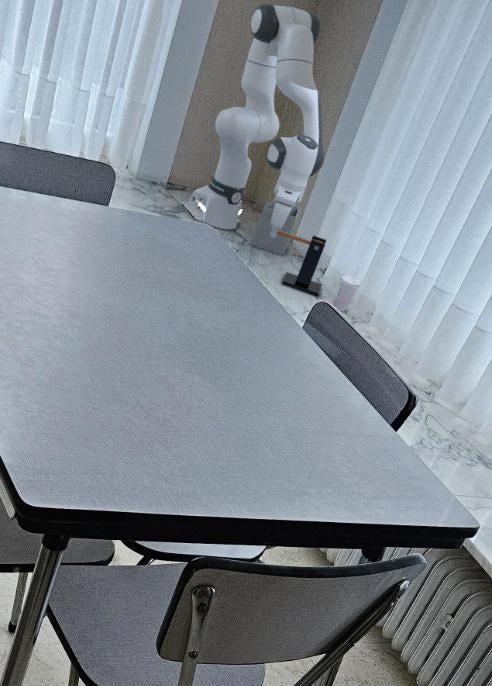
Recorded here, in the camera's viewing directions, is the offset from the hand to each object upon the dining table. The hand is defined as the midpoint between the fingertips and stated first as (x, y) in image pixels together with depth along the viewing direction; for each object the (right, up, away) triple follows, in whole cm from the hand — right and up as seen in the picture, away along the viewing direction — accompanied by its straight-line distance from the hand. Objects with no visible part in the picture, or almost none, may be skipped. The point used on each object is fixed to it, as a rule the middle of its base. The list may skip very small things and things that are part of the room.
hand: (273, 233), depth 315 cm
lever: (+7, -3, 0) cm, 7 cm away
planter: (+4, +2, +28) cm, 28 cm away
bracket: (+10, -15, +7) cm, 19 cm away
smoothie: (+20, -24, 0) cm, 31 cm away
